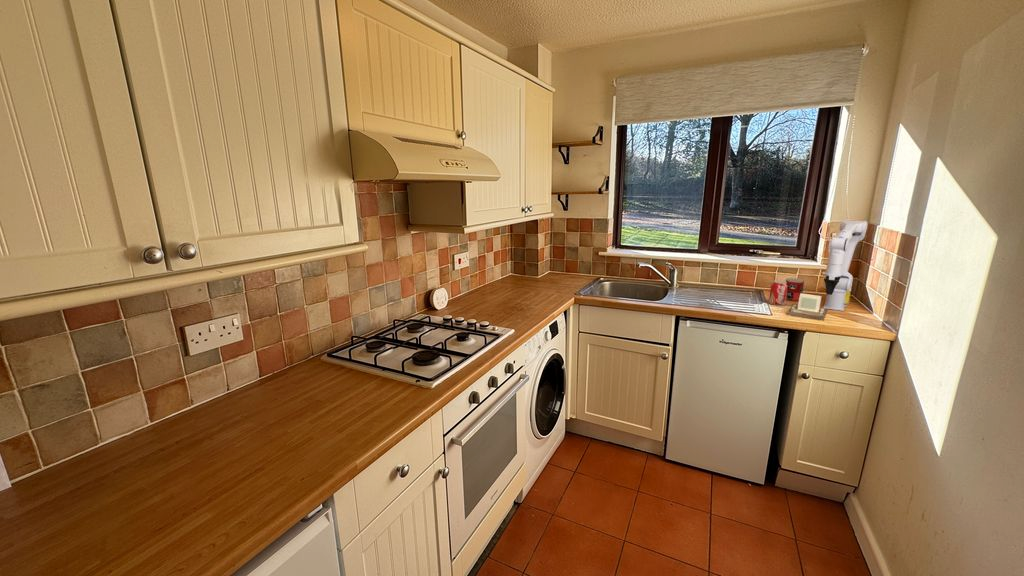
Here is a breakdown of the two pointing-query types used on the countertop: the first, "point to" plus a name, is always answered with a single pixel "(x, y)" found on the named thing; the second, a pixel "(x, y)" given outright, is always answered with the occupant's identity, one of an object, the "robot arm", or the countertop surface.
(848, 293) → the pill bottle
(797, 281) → the canned food
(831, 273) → the robot arm
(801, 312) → the notched board
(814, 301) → the picture frame
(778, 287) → the soda can
